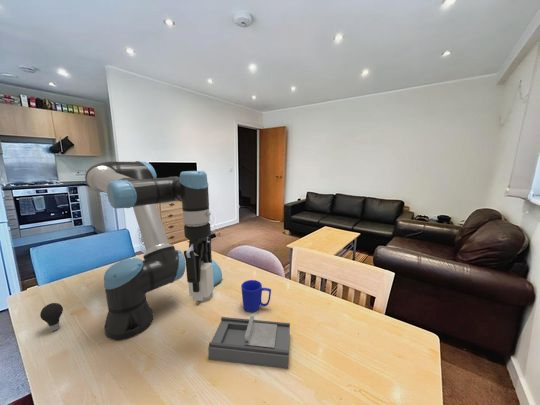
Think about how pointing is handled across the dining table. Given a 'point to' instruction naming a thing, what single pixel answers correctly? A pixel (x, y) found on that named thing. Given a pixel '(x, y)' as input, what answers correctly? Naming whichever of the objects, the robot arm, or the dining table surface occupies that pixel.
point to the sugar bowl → (216, 273)
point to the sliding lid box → (234, 350)
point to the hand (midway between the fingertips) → (202, 295)
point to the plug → (205, 280)
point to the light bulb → (52, 315)
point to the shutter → (260, 334)
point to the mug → (253, 295)
